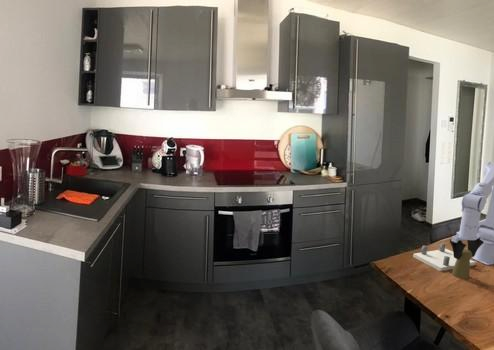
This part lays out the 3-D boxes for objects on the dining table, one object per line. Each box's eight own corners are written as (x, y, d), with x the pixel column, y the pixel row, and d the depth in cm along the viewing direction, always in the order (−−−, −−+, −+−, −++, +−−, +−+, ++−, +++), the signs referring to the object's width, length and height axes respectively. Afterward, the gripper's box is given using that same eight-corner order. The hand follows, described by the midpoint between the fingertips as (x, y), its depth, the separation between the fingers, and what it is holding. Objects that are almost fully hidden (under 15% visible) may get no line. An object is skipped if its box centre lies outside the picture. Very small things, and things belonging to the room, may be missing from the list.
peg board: (445, 251, 155) (447, 241, 154) (474, 265, 142) (476, 254, 141) (413, 256, 148) (414, 246, 147) (440, 271, 135) (442, 259, 134)
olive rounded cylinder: (472, 280, 129) (477, 253, 127) (455, 278, 130) (459, 252, 128) (465, 272, 135) (470, 247, 132) (449, 270, 136) (453, 245, 134)
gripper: (472, 219, 134) (467, 251, 137) (446, 222, 129) (441, 255, 132) (490, 225, 128) (484, 258, 130) (463, 229, 123) (457, 262, 125)
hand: (463, 257), depth 131 cm, fingers open, 7 cm apart
